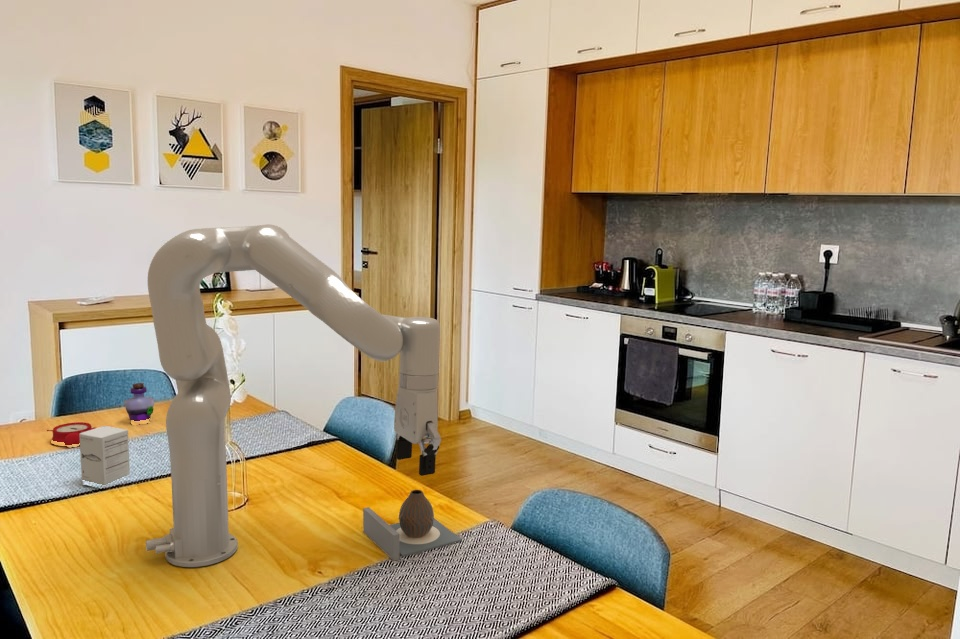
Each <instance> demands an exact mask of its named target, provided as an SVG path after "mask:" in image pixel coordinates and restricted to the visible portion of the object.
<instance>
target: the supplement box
mask: <svg viewBox="0 0 960 639" xmlns="http://www.w3.org/2000/svg"><path fill="white" fill-rule="evenodd" d="M94 428H95V429H92V430H89V431H86V432H82V433H80V434H79V436H80V446H79V453H80V468H81V469H80V471H81V481H82V480H85V481H89V482H94V483H97V484H102V485H106V484H108V483H111V482H113V481H115V480H117V479H120V478H122V477H124V476H127V475H129V474H130V475H131V471H130V470H131V468H130V450H129V449H130V448H129V446H130V445H129V429H124V428H120V427H115V426H114V427H113V426H108V425H102V426H99V427H94Z"/></svg>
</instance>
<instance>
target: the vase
mask: <svg viewBox="0 0 960 639" xmlns="http://www.w3.org/2000/svg"><path fill="white" fill-rule="evenodd" d="M434 518H435V512H434V508H433V505H432V504H431V502H430V500H429V499H428V498H427V497H426V495H425V494H424V491H422V490H421V489H413V490H411V491H410V493H409V494H408V496H407V497H406V499H405V500H404V501H403V502H402V504H401V506H400V509H399V513H398V521H399V522H398V523H400V527H401V529H402V531H403V532H404V533H405V534H406V535H407V536H409V537H411V538H420V537H423V536H425V535H426V534H427V533H428V532H429V531H430V530H431V528H432V525H433V521H434Z"/></svg>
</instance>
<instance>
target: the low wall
mask: <svg viewBox="0 0 960 639" xmlns="http://www.w3.org/2000/svg"><path fill="white" fill-rule="evenodd" d="M362 509H363V510H362V511H363V515H362V516H363V517H362V518H363V519H362V521H363V522H362V524H363V525H362V528H363V529H362V531H363V533H364V534H365V535H366V536H367V537H368V538H369V539H370V540H371V541H372V542H373V543H374V544H375V545H376V546H377V547H378V548H379V549H381V550H382V551H383V553H385V555H387V556H388V557H389V558H390V559H391V561H393V562H394V561H399V560H400V554H399V543H400V534H399V533H398V532H397V531H396V530H394V529H393V528H392V527H391V526H390V525H391V524H389V523H388V522H386V521H385V520H384V519H383V518H382V517H381V516H380V515H378V513H376V512H375V511H374V510H373V509H371V507H369V506H367V507H363V508H362Z"/></svg>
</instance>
